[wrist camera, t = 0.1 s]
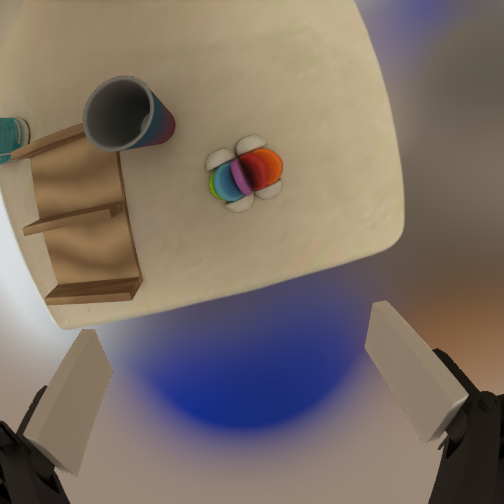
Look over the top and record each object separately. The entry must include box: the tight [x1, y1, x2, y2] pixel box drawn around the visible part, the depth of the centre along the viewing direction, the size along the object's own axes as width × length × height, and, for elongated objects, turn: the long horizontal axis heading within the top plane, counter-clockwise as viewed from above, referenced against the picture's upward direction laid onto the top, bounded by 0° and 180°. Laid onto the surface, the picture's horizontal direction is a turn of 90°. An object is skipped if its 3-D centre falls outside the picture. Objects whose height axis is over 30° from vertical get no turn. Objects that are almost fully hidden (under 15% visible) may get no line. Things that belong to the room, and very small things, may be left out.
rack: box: [11, 123, 143, 305], centre depth 33 cm, size 24×16×6 cm, turn 5°
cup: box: [83, 76, 175, 152], centre depth 26 cm, size 7×7×15 cm
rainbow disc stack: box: [206, 135, 283, 213], centre depth 33 cm, size 8×10×7 cm
